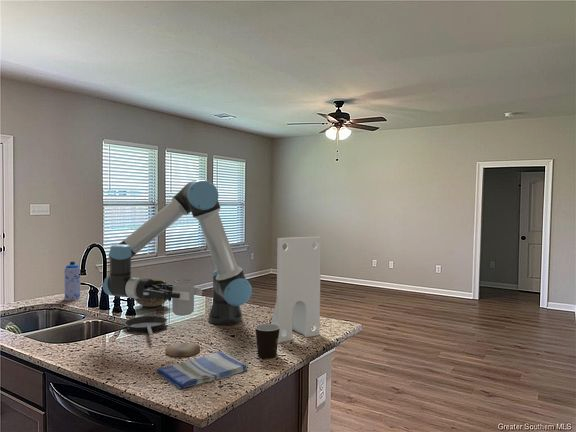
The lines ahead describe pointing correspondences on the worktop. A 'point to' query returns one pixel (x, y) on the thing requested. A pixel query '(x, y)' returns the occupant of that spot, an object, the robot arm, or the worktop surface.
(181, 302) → the can
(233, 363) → the dish towel
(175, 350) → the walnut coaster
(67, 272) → the aerosol can
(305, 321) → the arched white panel
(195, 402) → the worktop surface
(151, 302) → the ceramic bowl
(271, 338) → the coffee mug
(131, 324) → the frying pan
